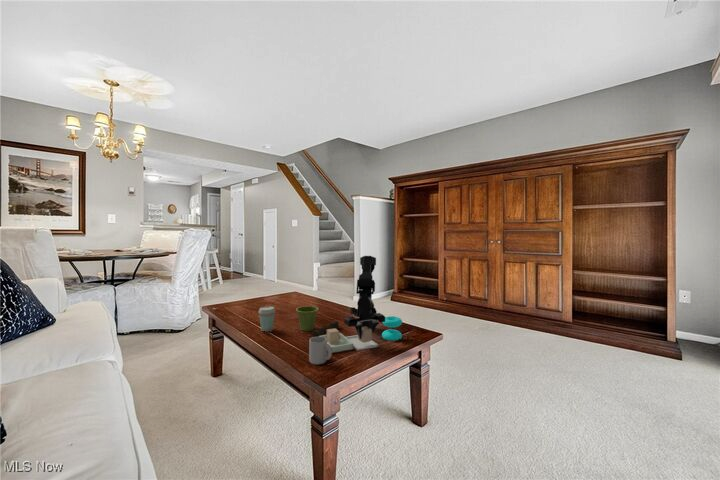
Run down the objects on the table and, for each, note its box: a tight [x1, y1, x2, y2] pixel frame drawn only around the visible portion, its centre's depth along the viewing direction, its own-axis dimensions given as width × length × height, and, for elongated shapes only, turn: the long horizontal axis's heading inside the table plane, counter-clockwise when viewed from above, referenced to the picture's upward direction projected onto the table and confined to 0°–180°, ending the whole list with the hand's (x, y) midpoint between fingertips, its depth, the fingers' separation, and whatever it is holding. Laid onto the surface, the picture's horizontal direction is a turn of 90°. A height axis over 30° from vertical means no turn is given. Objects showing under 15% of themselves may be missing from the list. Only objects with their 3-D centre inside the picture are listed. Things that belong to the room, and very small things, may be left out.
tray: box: [345, 334, 380, 351], centre depth 146 cm, size 11×16×1 cm
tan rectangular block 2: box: [358, 327, 373, 343], centre depth 141 cm, size 4×4×6 cm
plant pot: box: [295, 305, 319, 332], centre depth 165 cm, size 12×12×11 cm
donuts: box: [381, 315, 403, 341], centre depth 153 cm, size 10×10×10 cm
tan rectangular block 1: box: [326, 328, 340, 344], centre depth 146 cm, size 4×4×6 cm
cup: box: [308, 336, 333, 365], centre depth 125 cm, size 7×10×9 cm
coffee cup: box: [258, 306, 276, 333], centre depth 162 cm, size 9×8×12 cm
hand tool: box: [311, 320, 340, 338], centre depth 159 cm, size 19×4×5 cm, turn 142°
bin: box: [319, 332, 354, 354], centre depth 142 cm, size 11×16×3 cm
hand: (364, 337), depth 141 cm, fingers closed on tan rectangular block 2, 5 cm apart
